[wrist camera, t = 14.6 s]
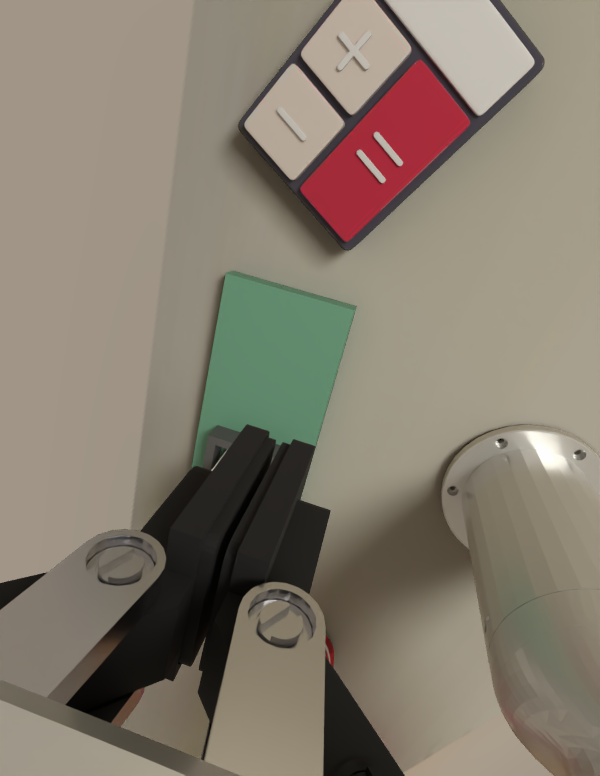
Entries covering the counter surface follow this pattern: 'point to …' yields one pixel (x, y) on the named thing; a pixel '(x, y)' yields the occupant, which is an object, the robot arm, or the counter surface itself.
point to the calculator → (385, 102)
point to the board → (270, 364)
